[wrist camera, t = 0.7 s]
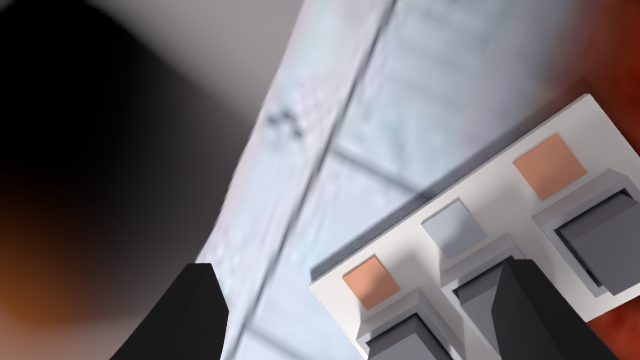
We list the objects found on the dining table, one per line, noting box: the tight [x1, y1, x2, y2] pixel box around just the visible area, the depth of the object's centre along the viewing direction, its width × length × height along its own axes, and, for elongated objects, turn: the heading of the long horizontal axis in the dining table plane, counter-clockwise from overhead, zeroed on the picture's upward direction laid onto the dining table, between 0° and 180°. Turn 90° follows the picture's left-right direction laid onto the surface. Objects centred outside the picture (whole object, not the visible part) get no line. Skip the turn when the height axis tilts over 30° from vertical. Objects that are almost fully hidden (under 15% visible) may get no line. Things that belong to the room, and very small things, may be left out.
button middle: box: [457, 257, 510, 356], centre depth 27 cm, size 4×4×3 cm
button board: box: [308, 94, 640, 360], centre depth 29 cm, size 13×24×4 cm, turn 130°
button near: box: [557, 192, 640, 296], centre depth 25 cm, size 4×4×3 cm
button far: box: [367, 312, 450, 360], centre depth 30 cm, size 4×4×3 cm
